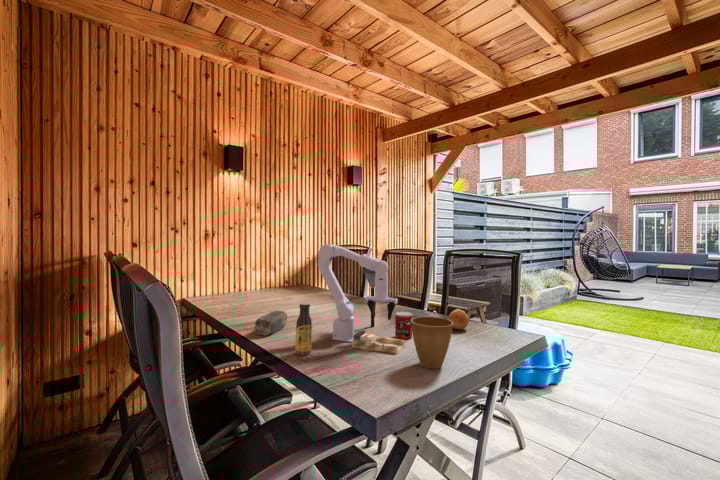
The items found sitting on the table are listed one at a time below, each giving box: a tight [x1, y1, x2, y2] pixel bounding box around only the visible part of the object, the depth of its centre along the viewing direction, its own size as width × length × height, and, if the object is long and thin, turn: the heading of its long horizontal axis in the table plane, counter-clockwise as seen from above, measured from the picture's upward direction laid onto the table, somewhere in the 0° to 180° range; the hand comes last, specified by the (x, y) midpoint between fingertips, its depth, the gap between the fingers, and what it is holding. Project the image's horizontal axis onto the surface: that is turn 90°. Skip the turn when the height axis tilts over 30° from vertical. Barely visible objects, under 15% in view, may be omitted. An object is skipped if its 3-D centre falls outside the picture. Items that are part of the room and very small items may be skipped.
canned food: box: [394, 311, 413, 341], centre depth 155 cm, size 8×8×11 cm
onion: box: [447, 308, 470, 331], centre depth 169 cm, size 10×10×10 cm
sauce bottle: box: [294, 302, 313, 357], centre depth 134 cm, size 6×6×20 cm
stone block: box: [254, 310, 288, 336], centre depth 166 cm, size 20×9×10 cm
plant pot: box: [411, 316, 454, 370], centre depth 122 cm, size 15×15×16 cm
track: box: [351, 329, 406, 355], centre depth 142 cm, size 20×10×5 cm, turn 66°
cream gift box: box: [360, 332, 376, 343], centre depth 144 cm, size 5×6×4 cm
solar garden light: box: [360, 268, 376, 328], centre depth 174 cm, size 12×12×30 cm
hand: (381, 318), depth 151 cm, fingers open, 7 cm apart
